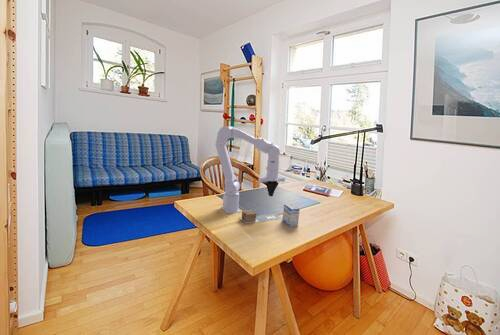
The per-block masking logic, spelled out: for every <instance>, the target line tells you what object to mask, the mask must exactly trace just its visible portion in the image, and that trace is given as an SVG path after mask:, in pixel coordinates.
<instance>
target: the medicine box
mask: <svg viewBox="0 0 500 335" xmlns="http://www.w3.org/2000/svg"><path fill="white" fill-rule="evenodd" d="M299 219H300V209H299V207H297V206H295V205H294V204H292V203H284V204H283V212H282V219H281V221H282V222H283V223H285V224H286V225H287V226H289V227H290V228H291V227H298V226H299V222H300V221H299Z"/></svg>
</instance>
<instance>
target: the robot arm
mask: <svg viewBox="0 0 500 335" xmlns="http://www.w3.org/2000/svg"><path fill="white" fill-rule="evenodd" d="M232 139H241V140H243V141H245V142H248V143H250V144H251V145H253V147H254V149H257V150H258V151H260V152H262V153H264V154H267V161H266V162H267V163H266V164H267V165H266V176H265V177H264V176H263V177H259V178H258V180H257V182H258V183H259V184H263V183H264V184H265V186H266V188H267V193H268V196H269V197H274V194H275V191H276V189H277V187H278V186H279V182H285V181H286V177H284V176H279V168H280V166H279V165H280V153H281V149H280V147H279V146H278V145H277V144H274V143H273V142H269V141H267V140H266V139H265V138H264V137H258V138H256V137H254V136H252V135H251V134H249V133H247V132H245V131H243V130H241V129H239V128H237V127H234V126H231V125H228V126H227V125H226V126H224V125H223V126H221V128H219V130H218V131H217V136H216V139H215V140H216V141H215V148H216V152H217V156H218V158H219V162H220V166H221V170H222V173H223V176H224V192H225V193H224V194H223V196H222V206H221V207H220V209H222V210H223V211H224V212H225V213H226V214H235V213H242V210H240V209H239V206H240V204H239V203H240V192H239V190H240V189H241V183H240V182H239V180H238V178H237V177H236V175H235V172H234V168H233V166H232V162H231V159H230V154H229V151H228V146H227V145H228V144H229V142H230V141H231V140H232Z"/></svg>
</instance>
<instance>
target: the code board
mask: <svg viewBox="0 0 500 335" xmlns="http://www.w3.org/2000/svg"><path fill="white" fill-rule="evenodd" d="M237 219H238V220H239V221H240V222H242V223H243V225H249V224H256V223H263V222H270V221H272V222H273V221H279V220H282V219H283V217H280V215H277V214H276V213H270V214H269V213H268V214H261V215H260V214H259V215H256V221H254V222H247V223H246V222H245V221H244V220H243V219H242V217H237Z"/></svg>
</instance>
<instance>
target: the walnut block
mask: <svg viewBox="0 0 500 335" xmlns="http://www.w3.org/2000/svg"><path fill="white" fill-rule="evenodd" d="M256 216H257V213H256V212H255V211H254V210H253V209H248V210H241V218H242V219H243V220H244V221H245V222H246V223H247V222H254V221H256Z"/></svg>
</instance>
